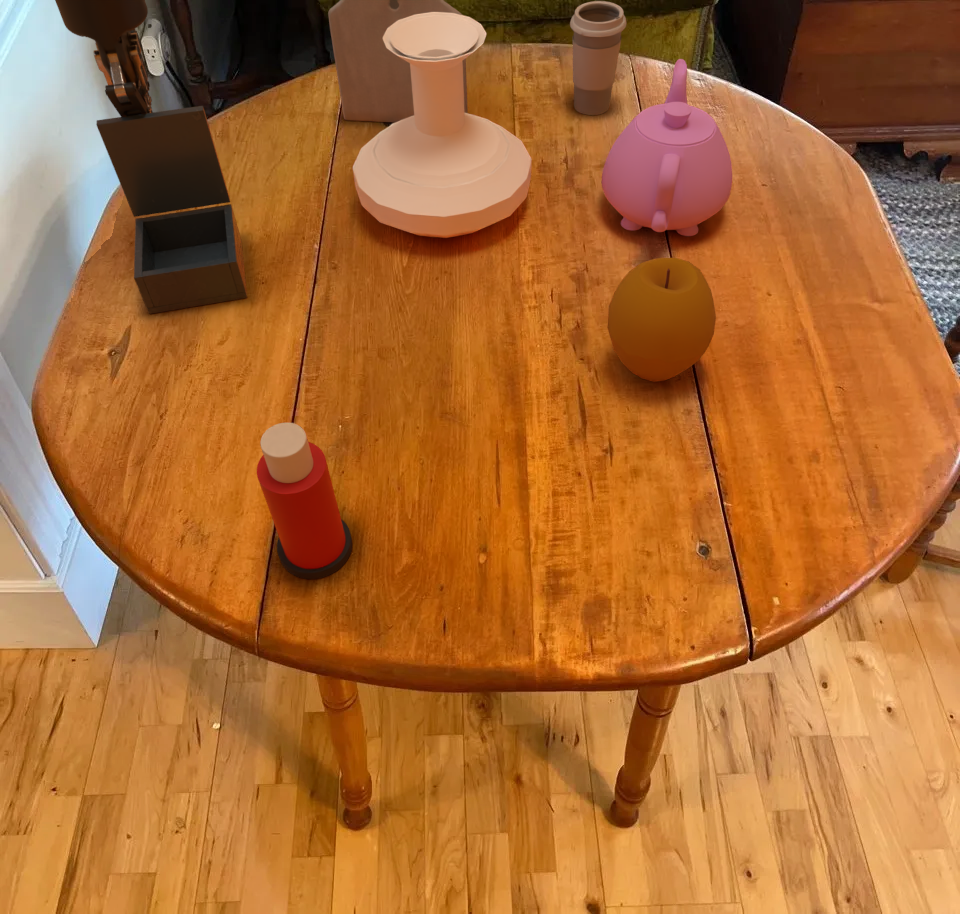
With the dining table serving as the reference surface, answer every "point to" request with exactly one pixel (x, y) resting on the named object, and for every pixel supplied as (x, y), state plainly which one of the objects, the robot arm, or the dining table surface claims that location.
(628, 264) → the dining table surface
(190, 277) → the box
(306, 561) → the sauce bottle
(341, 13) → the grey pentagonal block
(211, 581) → the dining table surface
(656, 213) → the teapot
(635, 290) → the apple
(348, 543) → the black coaster
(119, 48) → the robot arm
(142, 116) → the box lid
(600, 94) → the cup
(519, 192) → the candle holder
